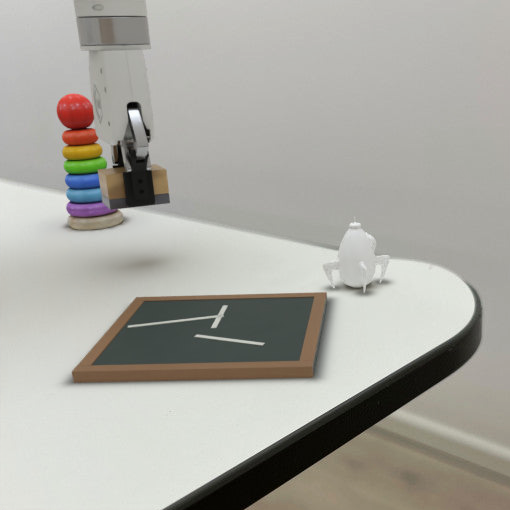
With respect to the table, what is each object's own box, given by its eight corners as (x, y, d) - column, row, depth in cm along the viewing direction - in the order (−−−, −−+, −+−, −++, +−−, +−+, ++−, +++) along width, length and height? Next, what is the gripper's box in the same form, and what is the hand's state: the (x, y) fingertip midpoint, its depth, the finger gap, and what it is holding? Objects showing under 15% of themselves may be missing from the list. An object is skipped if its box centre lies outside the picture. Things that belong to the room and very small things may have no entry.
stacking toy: (135, 221, 116) (114, 91, 109) (98, 234, 110) (74, 96, 102) (95, 217, 120) (72, 91, 112) (57, 230, 113) (30, 96, 105)
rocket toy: (390, 284, 85) (389, 213, 82) (367, 299, 81) (365, 225, 77) (348, 277, 87) (345, 208, 84) (323, 292, 83) (319, 220, 80)
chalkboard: (74, 385, 64) (71, 371, 63) (138, 308, 81) (136, 296, 80) (313, 380, 63) (312, 366, 63) (327, 303, 80) (326, 291, 79)
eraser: (110, 210, 88) (105, 174, 87) (102, 203, 92) (97, 169, 90) (170, 203, 91) (166, 169, 90) (160, 196, 95) (156, 164, 93)
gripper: (66, 36, 89) (90, 193, 97) (94, 36, 76) (120, 219, 83) (130, 35, 93) (149, 187, 100) (169, 35, 79) (187, 211, 86)
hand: (135, 200), depth 91 cm, fingers closed on eraser, 4 cm apart
